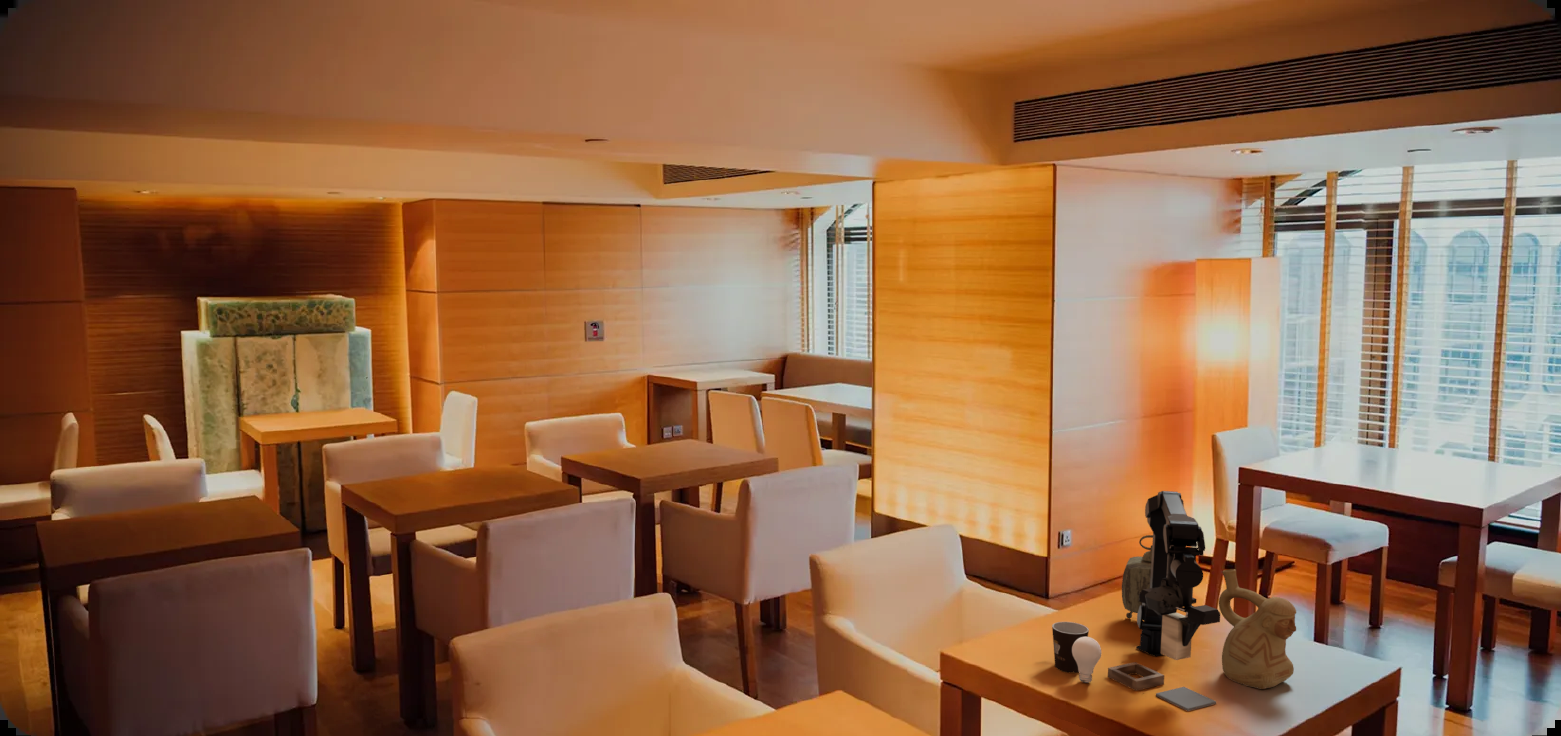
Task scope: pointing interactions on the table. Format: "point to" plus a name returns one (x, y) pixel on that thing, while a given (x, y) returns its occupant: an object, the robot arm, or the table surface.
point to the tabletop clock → (1136, 579)
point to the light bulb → (1086, 657)
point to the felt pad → (1185, 698)
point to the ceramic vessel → (1256, 637)
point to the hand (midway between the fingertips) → (1176, 642)
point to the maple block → (1173, 637)
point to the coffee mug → (1066, 644)
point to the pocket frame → (1147, 680)
